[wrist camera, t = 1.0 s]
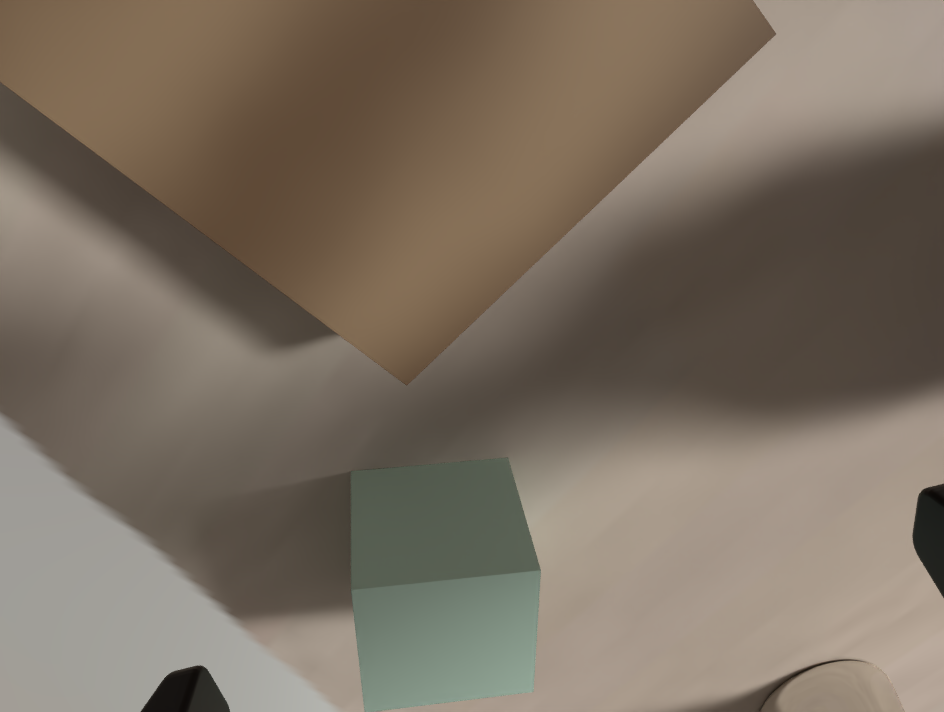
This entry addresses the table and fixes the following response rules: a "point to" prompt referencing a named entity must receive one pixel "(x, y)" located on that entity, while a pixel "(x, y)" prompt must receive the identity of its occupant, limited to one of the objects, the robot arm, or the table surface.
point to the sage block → (442, 584)
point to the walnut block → (377, 131)
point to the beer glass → (836, 690)
